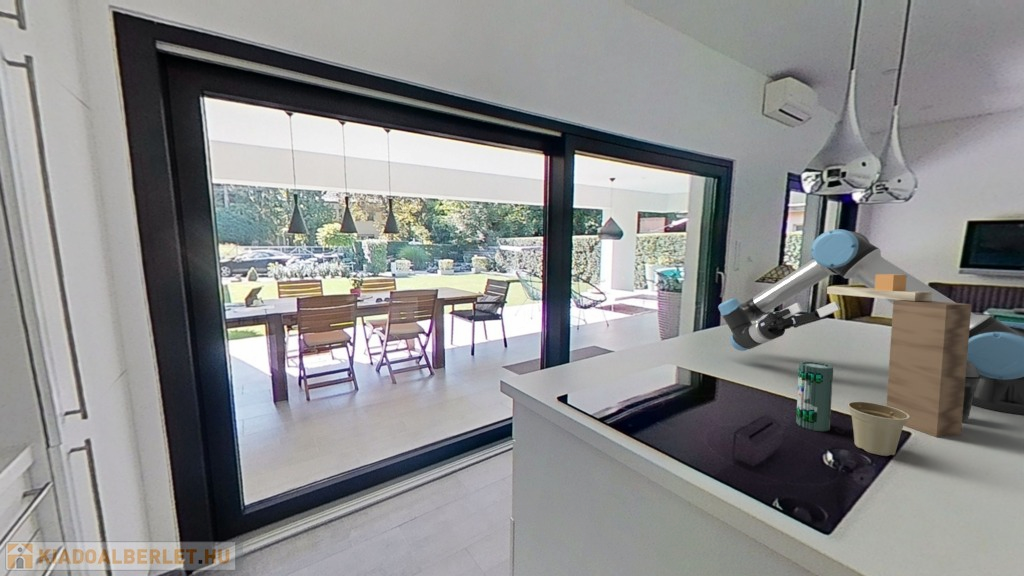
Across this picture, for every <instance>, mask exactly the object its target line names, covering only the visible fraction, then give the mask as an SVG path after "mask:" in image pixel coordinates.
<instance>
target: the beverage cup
mask: <svg viewBox="0 0 1024 576" xmlns="http://www.w3.org/2000/svg"><path fill="white" fill-rule="evenodd" d="M979 378H980V376H979V371H978V369H977V367H976V366H975V365H974V364H973V363H972V362H970V361H968V360H967V366H966V378H965V390H964V402H963V414H962V424H965V423H968V419H969V417H970V415H971V414H970V413H971V408H972V401H973V397H974V392H975V388H976V386H977V384H978V381H979Z"/></svg>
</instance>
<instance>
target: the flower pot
mask: <svg viewBox="0 0 1024 576" xmlns="http://www.w3.org/2000/svg"><path fill="white" fill-rule="evenodd" d="M886 405H887V404H881V403H876V402H870V401H869V402H868V401H861V400H860V401H849V402H847V407H848V409H849V413H850V414H851V415H850V416H851V420H852V429H853V440H854V445H855V446H856V447H857V448H858V449H862V450H864V451H866V452H867V453H869V454H873V455H878V456H882V457H888V456H895V455H896V452H897V448H898V444H899V441H900V437H901V434H902V431H903V427H905V426H904V425H905V424H906V421H907V420H908V419H909V418H910V416H909V415H908V414H907V413H905V412H903V411H901V410H899V409H896V408H893V407H889V406H886Z"/></svg>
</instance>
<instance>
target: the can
mask: <svg viewBox="0 0 1024 576" xmlns="http://www.w3.org/2000/svg"><path fill="white" fill-rule="evenodd" d="M797 376H798V377H797V397H796V418H795V419H796V420H795V423H796V424H797V425H798V426H799V427H802V428H803V429H804V428H805V429H808V430H812V431H815V432H828V431H830V430H831V413H832V397H833V380H834V379H833V377H834V366H832V365H830V364H826V363H823V362H815V361H806V360H805V361H800V362H799V363H798V374H797Z"/></svg>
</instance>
